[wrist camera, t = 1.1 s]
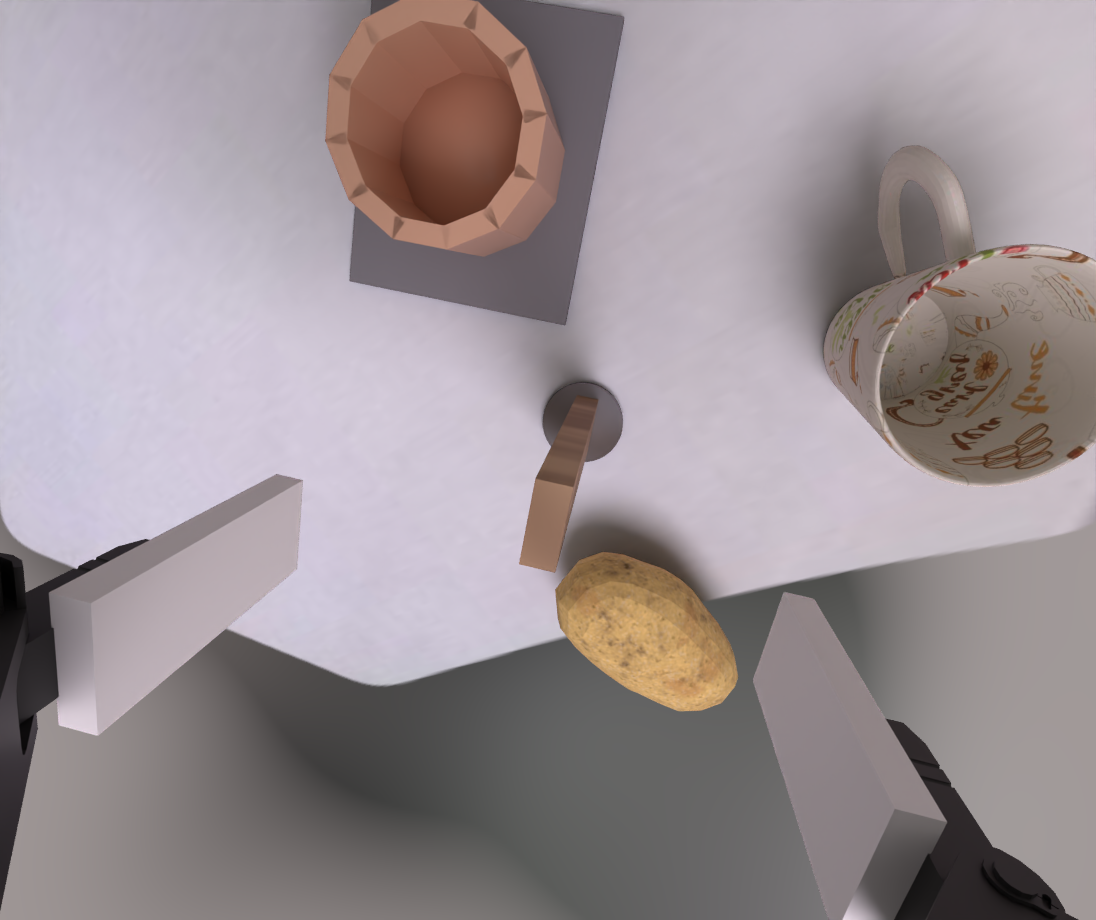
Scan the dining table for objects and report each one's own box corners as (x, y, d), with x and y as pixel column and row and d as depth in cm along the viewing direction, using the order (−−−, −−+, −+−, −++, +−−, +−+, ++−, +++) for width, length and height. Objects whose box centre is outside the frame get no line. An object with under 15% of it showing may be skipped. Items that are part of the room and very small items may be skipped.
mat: (377, -20, 28) (373, -25, 28) (624, 20, 27) (624, 16, 27) (352, 281, 32) (349, 281, 32) (565, 324, 31) (564, 325, 31)
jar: (399, 44, 28) (335, -23, 22) (578, 75, 28) (563, 15, 21) (381, 236, 31) (320, 224, 25) (544, 268, 30) (522, 264, 24)
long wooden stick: (551, 374, 32) (488, 446, 18) (630, 391, 32) (629, 477, 18) (537, 450, 34) (468, 571, 19) (613, 466, 33) (599, 602, 19)
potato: (617, 502, 34) (615, 549, 28) (754, 625, 35) (779, 695, 29) (541, 576, 36) (524, 634, 30) (672, 690, 37) (680, 768, 31)
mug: (820, 445, 31) (901, 515, 22) (757, 209, 29) (820, 172, 19) (990, 395, 30) (1160, 447, 20) (941, 137, 27) (1112, 57, 17)
